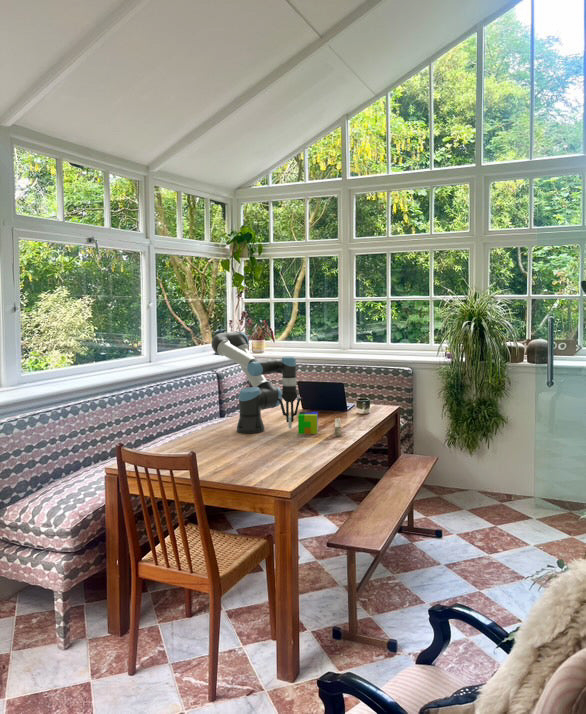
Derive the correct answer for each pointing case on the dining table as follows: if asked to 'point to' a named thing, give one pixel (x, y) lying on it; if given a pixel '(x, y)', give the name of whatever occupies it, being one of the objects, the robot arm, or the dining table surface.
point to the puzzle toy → (308, 423)
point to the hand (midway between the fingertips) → (290, 427)
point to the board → (337, 427)
